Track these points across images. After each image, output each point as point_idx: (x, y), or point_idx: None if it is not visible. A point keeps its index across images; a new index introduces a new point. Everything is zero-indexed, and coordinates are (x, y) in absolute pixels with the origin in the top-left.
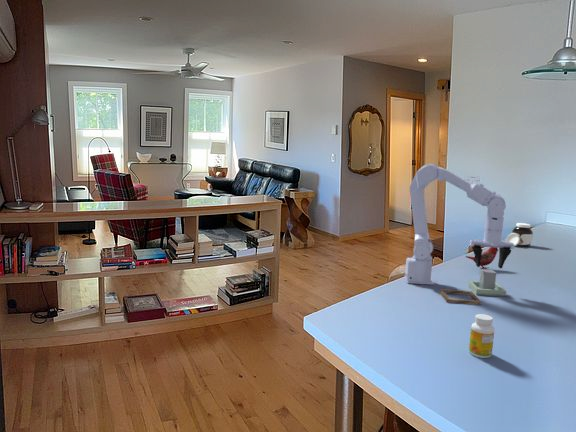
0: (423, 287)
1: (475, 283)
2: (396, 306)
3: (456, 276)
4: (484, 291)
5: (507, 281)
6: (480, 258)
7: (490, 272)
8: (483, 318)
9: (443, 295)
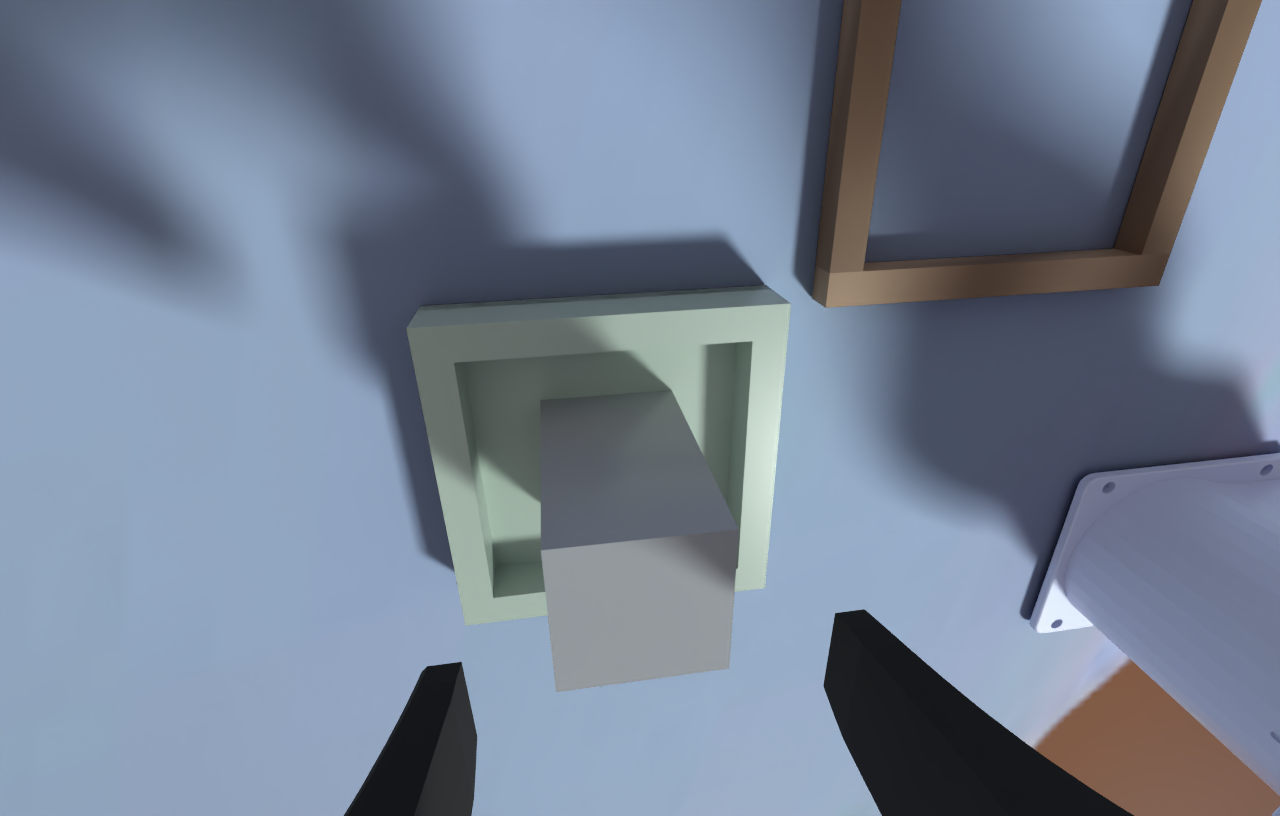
0: (1205, 380)
1: None
2: None
3: (754, 761)
4: (688, 303)
5: (319, 794)
6: (960, 748)
7: (636, 551)
8: None
9: (1235, 51)
